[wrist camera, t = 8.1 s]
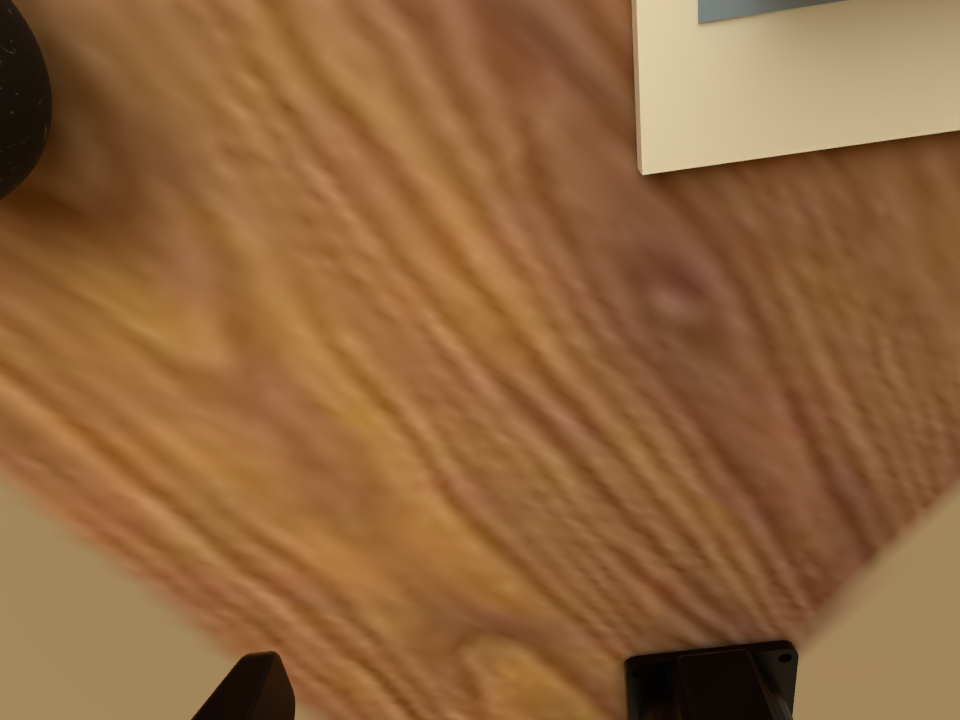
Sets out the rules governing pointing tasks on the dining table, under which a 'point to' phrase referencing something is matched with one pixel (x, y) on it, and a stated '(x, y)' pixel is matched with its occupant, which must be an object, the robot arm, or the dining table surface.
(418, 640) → the dining table surface
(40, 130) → the billiard ball
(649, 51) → the white flat square slab
